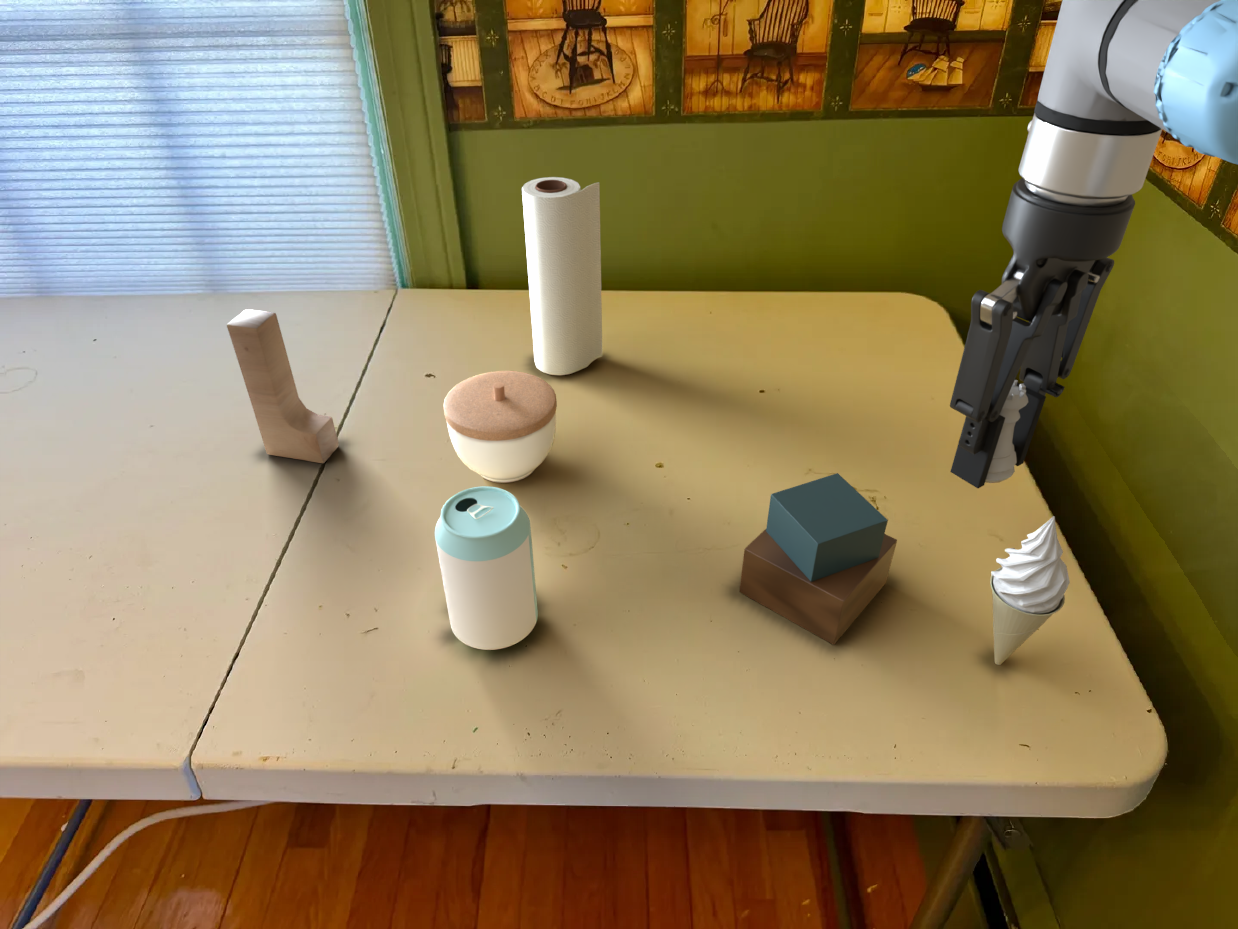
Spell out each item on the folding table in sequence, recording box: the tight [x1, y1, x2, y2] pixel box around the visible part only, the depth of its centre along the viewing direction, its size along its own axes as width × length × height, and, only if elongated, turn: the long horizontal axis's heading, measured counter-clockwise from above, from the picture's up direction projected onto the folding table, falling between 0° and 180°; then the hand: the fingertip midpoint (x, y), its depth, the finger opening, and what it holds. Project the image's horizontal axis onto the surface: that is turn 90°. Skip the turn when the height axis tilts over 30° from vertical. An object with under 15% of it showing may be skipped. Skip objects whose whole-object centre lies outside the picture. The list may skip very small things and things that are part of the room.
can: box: [434, 485, 539, 651], centre depth 67 cm, size 7×7×12 cm
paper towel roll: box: [521, 176, 604, 376], centre depth 96 cm, size 7×6×21 cm
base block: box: [739, 528, 898, 646], centre depth 72 cm, size 9×9×5 cm
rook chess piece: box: [985, 379, 1028, 484], centre depth 69 cm, size 4×4×8 cm
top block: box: [765, 472, 889, 582], centre depth 70 cm, size 6×6×4 cm
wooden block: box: [226, 308, 340, 464], centre depth 85 cm, size 7×3×15 cm, turn 76°
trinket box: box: [442, 370, 558, 484], centre depth 85 cm, size 11×11×9 cm
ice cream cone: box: [989, 515, 1071, 666], centre depth 63 cm, size 5×5×15 cm
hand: (987, 467), depth 72 cm, fingers closed on rook chess piece, 4 cm apart
